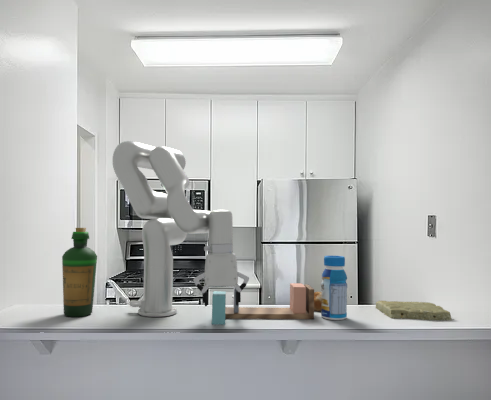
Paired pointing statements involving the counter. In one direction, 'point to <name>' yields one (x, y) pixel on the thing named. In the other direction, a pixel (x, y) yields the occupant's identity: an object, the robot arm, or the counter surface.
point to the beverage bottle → (334, 289)
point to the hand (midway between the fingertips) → (221, 305)
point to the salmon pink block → (298, 298)
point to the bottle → (79, 276)
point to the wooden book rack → (274, 310)
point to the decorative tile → (413, 310)
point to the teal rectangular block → (218, 307)
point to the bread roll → (317, 301)
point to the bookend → (236, 307)
